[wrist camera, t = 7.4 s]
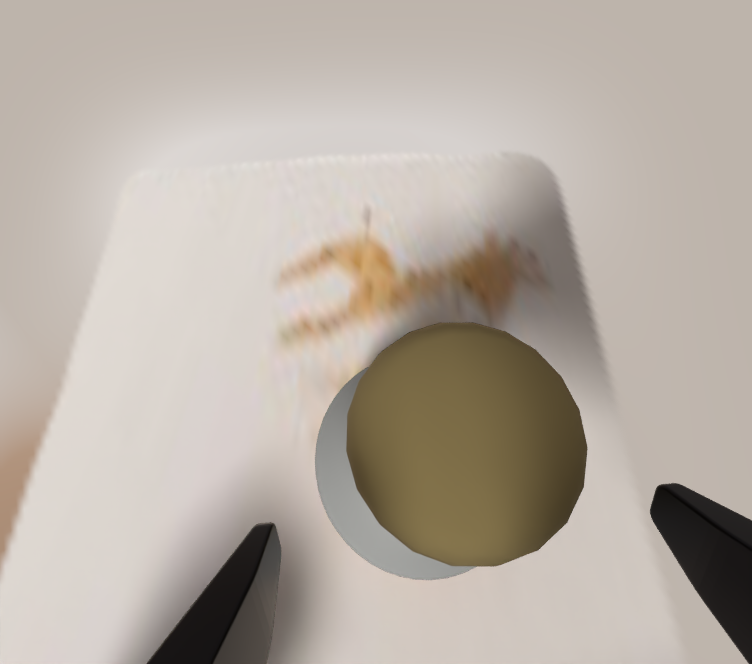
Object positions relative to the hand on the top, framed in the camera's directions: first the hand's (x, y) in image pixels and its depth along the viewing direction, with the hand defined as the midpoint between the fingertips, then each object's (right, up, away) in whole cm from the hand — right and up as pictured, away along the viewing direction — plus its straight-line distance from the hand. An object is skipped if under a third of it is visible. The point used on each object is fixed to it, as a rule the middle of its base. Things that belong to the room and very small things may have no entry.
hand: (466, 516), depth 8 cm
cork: (0, -2, +9) cm, 9 cm away
